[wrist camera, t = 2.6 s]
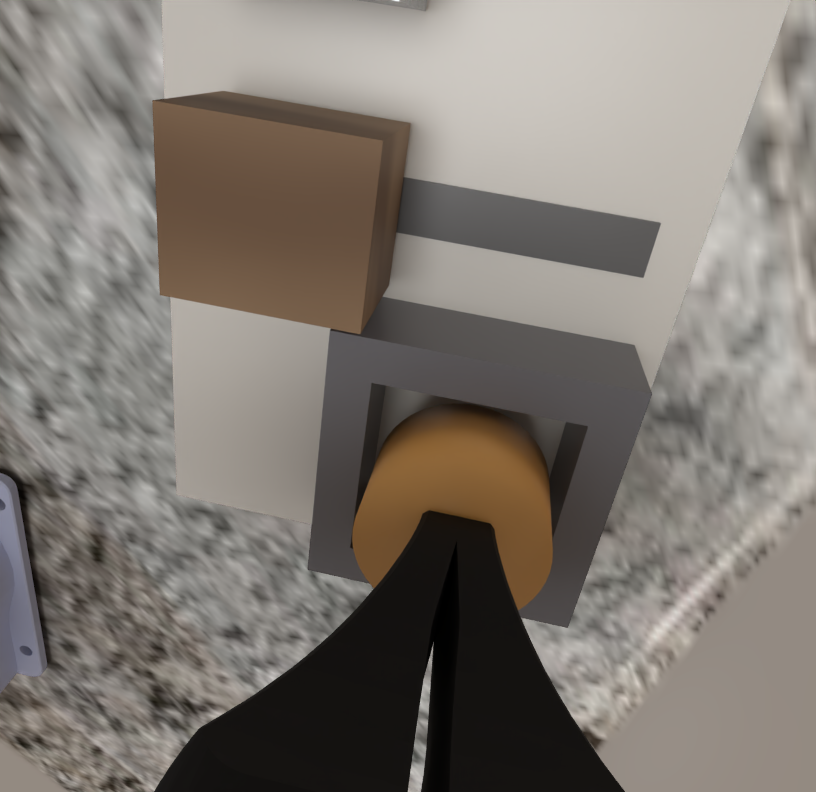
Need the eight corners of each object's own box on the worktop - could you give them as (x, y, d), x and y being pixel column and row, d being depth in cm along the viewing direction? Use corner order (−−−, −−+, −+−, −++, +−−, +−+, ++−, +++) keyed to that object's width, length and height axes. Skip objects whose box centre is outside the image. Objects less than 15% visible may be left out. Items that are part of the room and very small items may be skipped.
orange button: (527, 563, 16) (526, 643, 14) (367, 528, 17) (343, 600, 14) (568, 423, 14) (576, 490, 12) (387, 387, 15) (363, 446, 13)
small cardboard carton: (389, 285, 15) (360, 334, 13) (221, 253, 16) (159, 295, 13) (410, 122, 14) (383, 140, 11) (223, 90, 14) (152, 100, 11)
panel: (578, 555, 20) (588, 653, 17) (194, 472, 21) (132, 551, 18) (829, -169, 12) (942, -252, 9) (184, -255, 13) (66, -359, 9)
